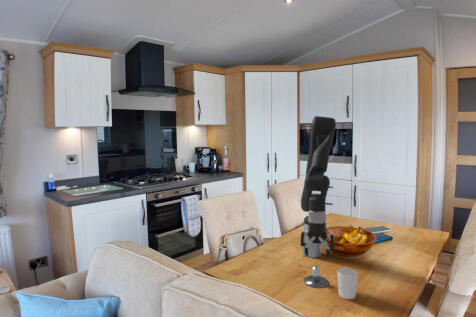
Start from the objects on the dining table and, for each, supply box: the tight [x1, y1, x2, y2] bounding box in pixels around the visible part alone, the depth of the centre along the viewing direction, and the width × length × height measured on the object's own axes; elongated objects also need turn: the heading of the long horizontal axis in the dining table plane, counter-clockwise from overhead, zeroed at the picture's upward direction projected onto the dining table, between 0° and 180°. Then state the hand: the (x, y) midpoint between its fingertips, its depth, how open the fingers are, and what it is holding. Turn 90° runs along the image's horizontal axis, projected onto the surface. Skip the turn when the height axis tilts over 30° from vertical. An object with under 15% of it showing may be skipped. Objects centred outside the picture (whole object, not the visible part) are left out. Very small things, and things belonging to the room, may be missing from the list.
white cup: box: [336, 267, 359, 300], centre depth 131 cm, size 8×8×10 cm
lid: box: [303, 265, 329, 289], centre depth 142 cm, size 10×10×7 cm
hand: (317, 256), depth 141 cm, fingers open, 8 cm apart
